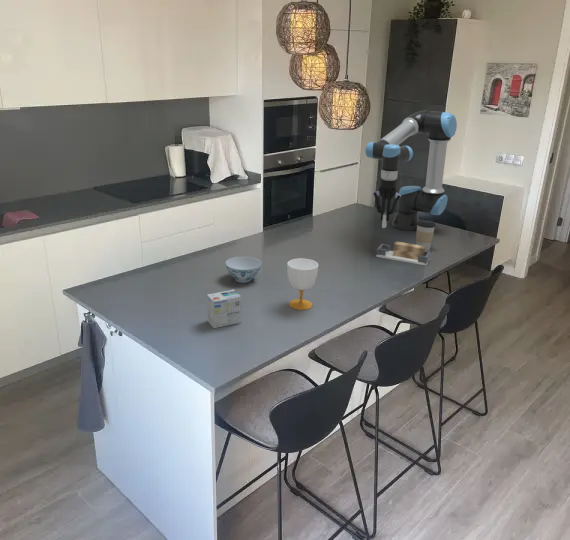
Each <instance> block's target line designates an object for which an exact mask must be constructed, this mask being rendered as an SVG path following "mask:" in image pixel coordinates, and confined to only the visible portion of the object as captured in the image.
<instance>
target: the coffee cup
mask: <svg viewBox="0 0 570 540" xmlns="http://www.w3.org/2000/svg"><path fill="white" fill-rule="evenodd" d="M435 227H436V222H434V220H432V219H429V218H427V217H425V218H423V219H419V221H418V222H417V230H416V234H415V235H416V236H415V238H416V239H415V241H416V242H415V245H421V246H425V251H427V252H428V251H431V246H432V242H433V238H434V233H435Z"/></svg>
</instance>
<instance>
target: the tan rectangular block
mask: <svg viewBox="0 0 570 540" xmlns="http://www.w3.org/2000/svg"><path fill="white" fill-rule="evenodd" d="M392 251H393V256H398V257H404V258H410V259H415V260H418V256H419V255H421V256H424V252H425V246H421V245H416V243H415V244H414V243H407V242H403V241H402V242H401V241H395V242H394V244H393V250H392Z"/></svg>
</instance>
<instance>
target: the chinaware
mask: <svg viewBox="0 0 570 540" xmlns="http://www.w3.org/2000/svg"><path fill="white" fill-rule="evenodd" d="M261 267H262V261H261V260H260V259H258V258H255V257H252V256H234V257H230V258H228V259H227V260H226V261H225V268H226V271H227V273H228V274H229V275H230V276H231V277H232V278H233V279H235V281H236V282H238V283H240V284H241V283H243V284H245V283H249V282H251V281H252V279H254V278H255V277H256V276H257V275H258V273H259V272H260V271H261Z"/></svg>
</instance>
